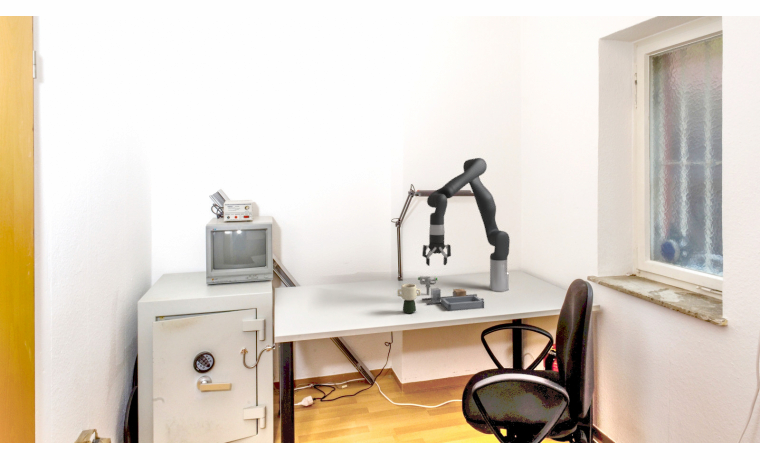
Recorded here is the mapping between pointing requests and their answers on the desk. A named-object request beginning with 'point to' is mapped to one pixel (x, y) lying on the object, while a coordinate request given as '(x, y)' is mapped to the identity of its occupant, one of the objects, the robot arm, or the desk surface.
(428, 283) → the mechanical component
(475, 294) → the slide rails
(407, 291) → the character mug
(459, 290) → the slider
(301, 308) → the desk surface
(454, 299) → the tray
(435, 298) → the stop block
